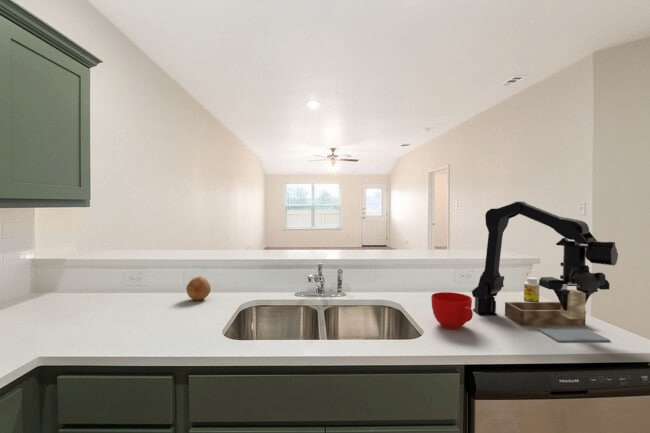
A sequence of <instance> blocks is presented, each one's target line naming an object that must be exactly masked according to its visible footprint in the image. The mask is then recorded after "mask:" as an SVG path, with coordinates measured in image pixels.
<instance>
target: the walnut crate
mask: <svg viewBox="0 0 650 433" xmlns="http://www.w3.org/2000/svg"><path fill="white" fill-rule="evenodd" d="M586 313H587V312H586V310H585V319H569V318H567V317H565V316H563V315H561V303H560V301H539V302H525V301H516V302H515V301H505V302H504V316H505V317H506V318H509V319H510V320H511V321H513V322H514V323H516V324H518V325H519V326H522V327H523V326H525V327H528V326H529V327H530V326H531V327H533V326H537V327H538V326H586V315H587V314H586Z"/></svg>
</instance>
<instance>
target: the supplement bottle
mask: <svg viewBox="0 0 650 433" xmlns="http://www.w3.org/2000/svg"><path fill="white" fill-rule="evenodd" d="M523 302H540V286H539V282H538V278H537V277H533V276H532V277H531V276H528V277H526V280H525V281H524V284H523Z"/></svg>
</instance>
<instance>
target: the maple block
mask: <svg viewBox="0 0 650 433" xmlns="http://www.w3.org/2000/svg"><path fill="white" fill-rule="evenodd" d="M569 290H570V292H569V294H568V303H567V311H565V310H563V308H562V306H561V315H563V316H565V317H567V318H569V319H585V311H586V304H585V298H586V293H583V292H581V291H578V290H576V289H569ZM585 320H586V319H585Z"/></svg>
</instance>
